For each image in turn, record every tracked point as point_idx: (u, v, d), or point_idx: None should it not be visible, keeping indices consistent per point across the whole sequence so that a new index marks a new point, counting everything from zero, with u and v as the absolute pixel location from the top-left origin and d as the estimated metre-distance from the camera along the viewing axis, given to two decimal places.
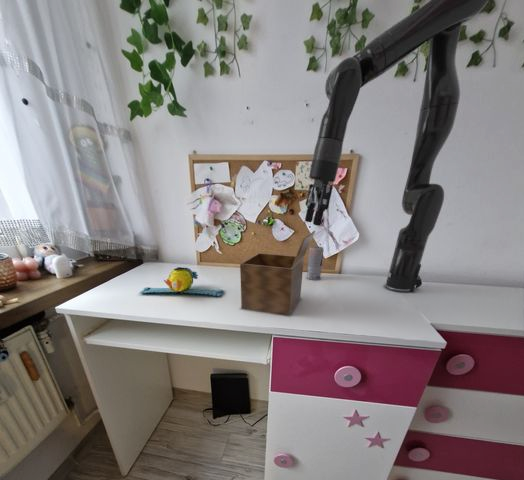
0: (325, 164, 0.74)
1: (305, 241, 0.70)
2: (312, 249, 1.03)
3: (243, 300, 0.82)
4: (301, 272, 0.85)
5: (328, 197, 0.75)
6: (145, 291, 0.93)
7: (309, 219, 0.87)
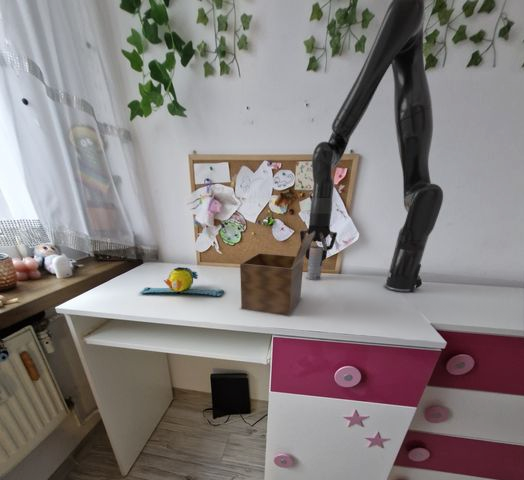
0: None
1: (305, 241, 0.70)
2: (312, 249, 1.03)
3: (243, 300, 0.82)
4: (301, 272, 0.85)
5: None
6: (145, 291, 0.93)
7: (322, 258, 1.06)
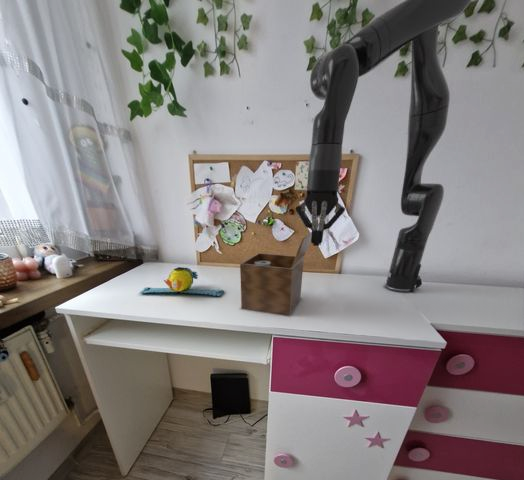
0: None
1: (304, 241, 0.70)
2: None
3: (243, 300, 0.82)
4: (301, 272, 0.85)
5: None
6: (145, 291, 0.93)
7: None
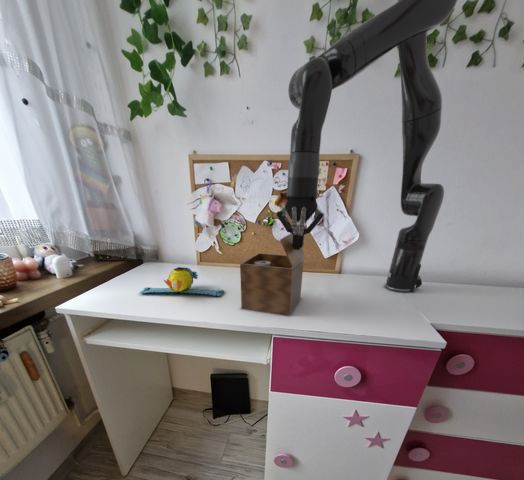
0: None
1: (285, 240, 0.72)
2: None
3: (243, 300, 0.82)
4: (301, 272, 0.85)
5: None
6: (145, 291, 0.93)
7: None
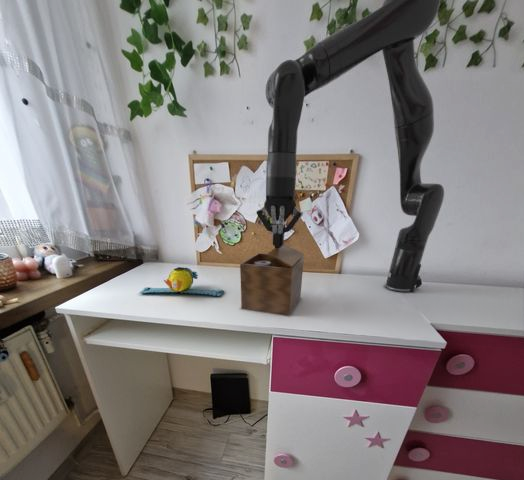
0: None
1: (274, 252, 0.74)
2: None
3: (243, 300, 0.82)
4: (301, 272, 0.85)
5: None
6: (145, 291, 0.93)
7: None
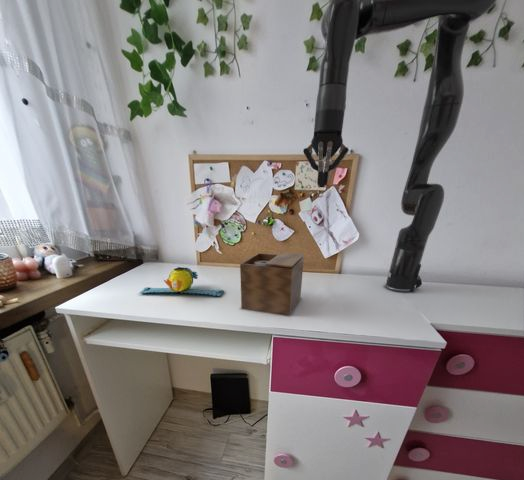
0: None
1: (272, 261, 0.76)
2: None
3: (243, 300, 0.82)
4: (301, 272, 0.85)
5: (308, 160, 0.78)
6: (145, 291, 0.93)
7: None
